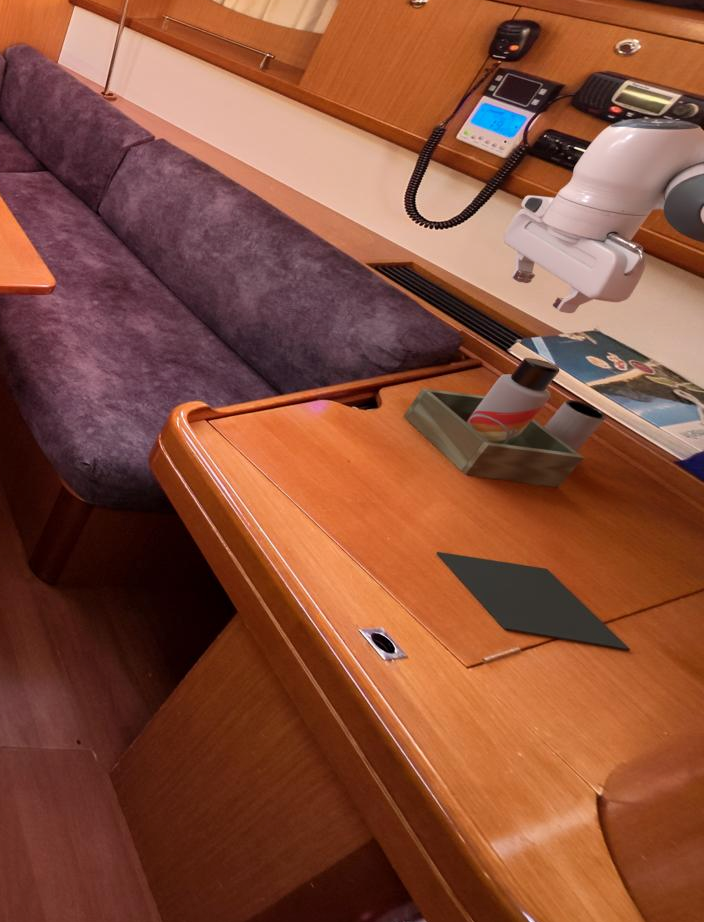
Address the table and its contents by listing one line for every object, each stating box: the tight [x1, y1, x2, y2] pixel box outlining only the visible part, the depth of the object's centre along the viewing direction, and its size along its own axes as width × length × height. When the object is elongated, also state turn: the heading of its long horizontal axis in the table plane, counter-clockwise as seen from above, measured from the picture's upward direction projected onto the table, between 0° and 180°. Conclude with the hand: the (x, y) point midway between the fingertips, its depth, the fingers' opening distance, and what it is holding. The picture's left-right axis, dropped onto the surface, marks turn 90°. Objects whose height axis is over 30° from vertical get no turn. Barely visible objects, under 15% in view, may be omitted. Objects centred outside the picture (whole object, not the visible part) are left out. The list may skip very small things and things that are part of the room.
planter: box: [543, 399, 607, 453], centre depth 108 cm, size 4×4×10 cm
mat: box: [436, 551, 631, 652], centre depth 86 cm, size 14×11×1 cm
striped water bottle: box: [466, 357, 560, 445], centre depth 106 cm, size 6×6×20 cm
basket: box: [403, 388, 585, 488], centre depth 109 cm, size 14×14×7 cm
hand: (540, 294), depth 101 cm, fingers open, 8 cm apart
